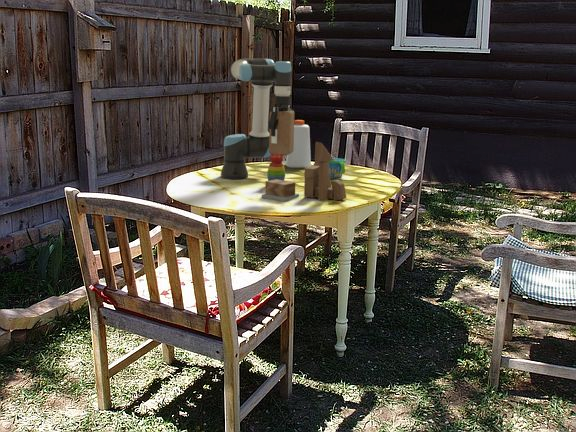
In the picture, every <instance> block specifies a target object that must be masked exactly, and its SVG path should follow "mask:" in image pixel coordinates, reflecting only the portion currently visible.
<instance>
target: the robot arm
mask: <svg viewBox="0 0 576 432" xmlns="http://www.w3.org/2000/svg"><path fill="white" fill-rule="evenodd" d="M292 69H293V68H292V63H291V61H275V62H274V60H273V59H271V58H248V57H247V58H246V57H245V58H240V59H238V60H235V61H234V62H232V64H231V66H230V74H231V76H232V77H233V78H235V79H237V80H240V81H242V82H250V85H251V86H252V87H253V97H252V99H253V100H252V101H253V102H252V121H251V123H252V124H251V126H252V127H251V130H250V132H249V133H248V136H246V134H244V133H236V134H230V135H227V136H225V137H224V138H223V165H222V168H221V171H220V177H221V178H223V179H226V180H243V179H247V178H249V172H248V169H247V168H248V167H247V166H246V159H248V158H249V159H257V158H258V159H259V158H260V159H265V158H270V157H271V154H270V153H269V129H271V143H275V144H277V129H276V128H277V125H278V119H277V120H276V117H277V113H278V111H288V110H293V106H292V105H290V104H291V96H290V95H291V92H292V91H291V90H292V89H291V88H292V87H291V86H292V85H291V83H292V71H293V70H292ZM273 84H274V101H273V102H274V105H275V106H272V107H271V111H272V113H271V118H270V117H269V115H270V112H269V110H270V109H269V107H270V89H271V88H272V87H273ZM294 125H295V122H294ZM274 126H275V127H274Z"/></svg>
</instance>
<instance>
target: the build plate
mask: <svg viewBox="0 0 576 432" xmlns="http://www.w3.org/2000/svg"><path fill="white" fill-rule="evenodd" d="M299 196H300V194H299V193H296V192H295V195H293V196H288V197H280V196H275V195H270V194H265V193H262V194H261V198H262V199H266V200H267V199H268V200H272V201H273V200H274V201H279V202H286V201H290V200H294V199H296V198H299Z"/></svg>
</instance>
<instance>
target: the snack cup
mask: <svg viewBox="0 0 576 432" xmlns="http://www.w3.org/2000/svg"><path fill="white" fill-rule="evenodd" d="M333 159H334V161H329V172H330V178H332V179H340V178H342V177H343V174H345V172H346V168H345V164H346V159H345V158H339V157H333Z"/></svg>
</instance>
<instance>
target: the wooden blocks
mask: <svg viewBox="0 0 576 432" xmlns="http://www.w3.org/2000/svg"><path fill="white" fill-rule="evenodd" d="M314 146H315V147H314V163H313V165H312V164H311V166H309V167H307V168H304V173H303V175H304V176H303V178H304V184H303V185H304V186H303V188H304V191H303V196H304V198H311V199H313V198H316V199H317V200H318V201H322V202H323V201H327V200H334V201H342V200H345V199H347V198H348V197H347V192H346V187H345V184H344V183H343V182H342V181H341V180H340V179H334V180H332V181H331V177H330V172H329V161H334V159H333V158H334V157H333V156H332V154H331V153H330V152H329V151H328V149H327V148H326V146H325V145H324V144H323V143H322V142H319V141H315V144H314Z"/></svg>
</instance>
